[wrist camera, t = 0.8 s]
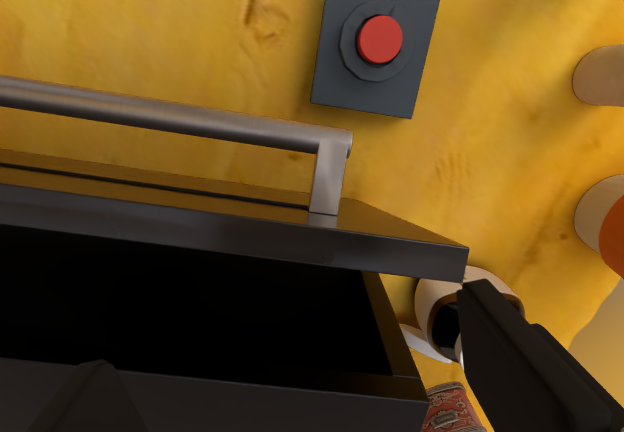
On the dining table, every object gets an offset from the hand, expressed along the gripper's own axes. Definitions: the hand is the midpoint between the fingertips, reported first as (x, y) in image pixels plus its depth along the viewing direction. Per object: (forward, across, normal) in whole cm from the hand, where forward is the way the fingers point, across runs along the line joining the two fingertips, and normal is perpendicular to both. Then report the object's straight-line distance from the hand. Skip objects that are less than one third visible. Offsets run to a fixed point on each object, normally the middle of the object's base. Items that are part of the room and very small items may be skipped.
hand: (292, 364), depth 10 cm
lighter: (+30, -10, +37) cm, 49 cm away
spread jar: (+31, -13, +22) cm, 40 cm away
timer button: (+28, -9, -8) cm, 30 cm away
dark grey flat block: (+31, -9, -8) cm, 34 cm away
